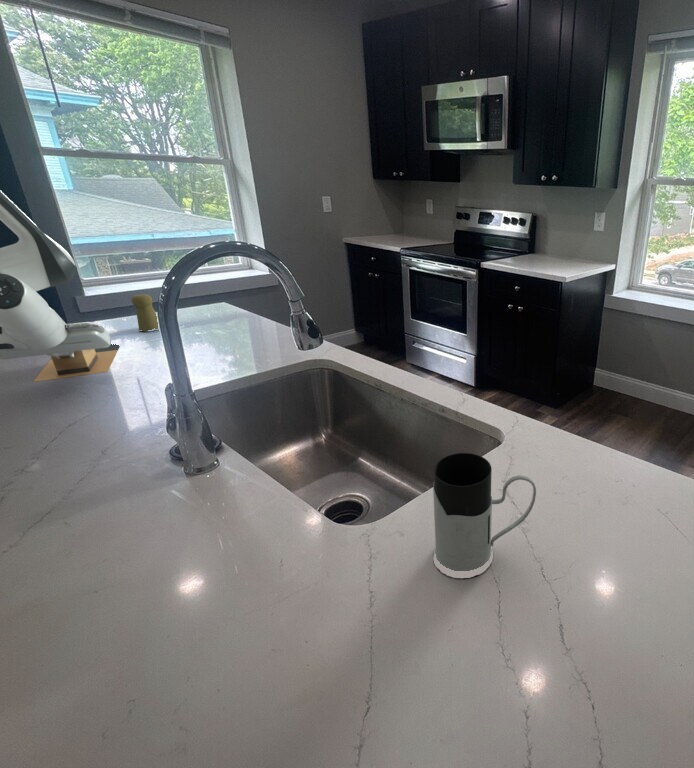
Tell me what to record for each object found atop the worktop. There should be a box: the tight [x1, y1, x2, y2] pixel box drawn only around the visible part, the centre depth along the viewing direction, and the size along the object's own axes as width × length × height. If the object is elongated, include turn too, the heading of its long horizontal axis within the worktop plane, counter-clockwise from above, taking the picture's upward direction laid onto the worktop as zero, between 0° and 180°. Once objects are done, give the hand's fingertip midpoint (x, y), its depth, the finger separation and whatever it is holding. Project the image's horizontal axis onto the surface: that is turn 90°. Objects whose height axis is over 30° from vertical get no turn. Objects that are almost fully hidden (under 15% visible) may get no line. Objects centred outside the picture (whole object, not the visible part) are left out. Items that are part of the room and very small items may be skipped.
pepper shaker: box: [131, 293, 158, 331], centre depth 145 cm, size 6×6×11 cm
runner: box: [32, 344, 121, 383], centre depth 126 cm, size 14×29×1 cm, turn 30°
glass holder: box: [432, 452, 537, 571], centre depth 64 cm, size 9×14×15 cm, turn 93°
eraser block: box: [50, 349, 98, 375], centre depth 119 cm, size 6×10×8 cm, turn 30°
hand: (66, 355), depth 114 cm, fingers closed, pressing on eraser block
